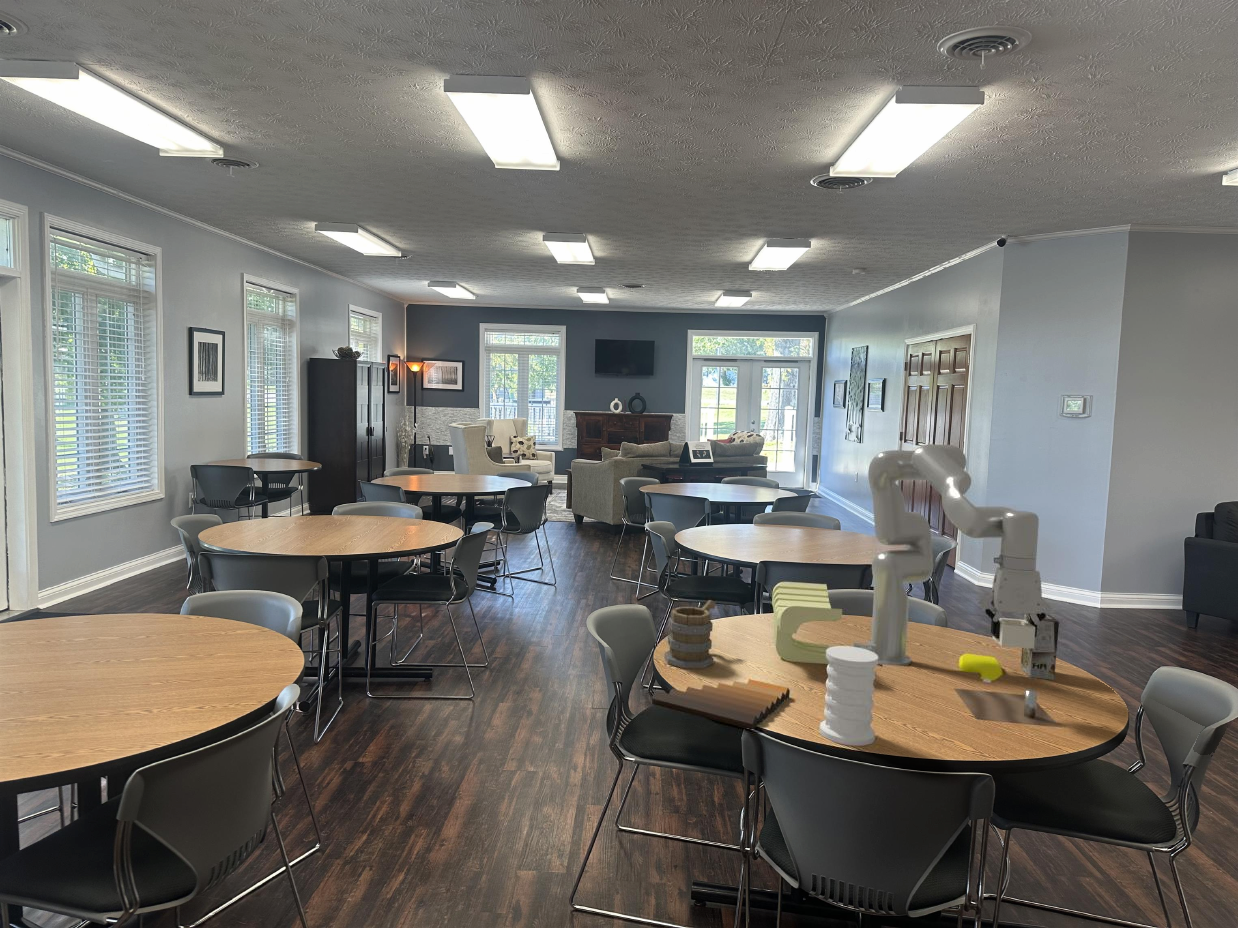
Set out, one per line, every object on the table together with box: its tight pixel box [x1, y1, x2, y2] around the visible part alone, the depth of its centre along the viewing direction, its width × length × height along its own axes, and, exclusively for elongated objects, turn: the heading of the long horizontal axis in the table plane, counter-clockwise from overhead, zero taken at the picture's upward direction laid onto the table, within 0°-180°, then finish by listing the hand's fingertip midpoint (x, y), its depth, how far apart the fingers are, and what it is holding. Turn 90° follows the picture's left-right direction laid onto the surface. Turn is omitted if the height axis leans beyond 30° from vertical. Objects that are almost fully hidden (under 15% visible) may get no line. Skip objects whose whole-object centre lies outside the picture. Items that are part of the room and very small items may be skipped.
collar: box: [992, 617, 1035, 649], centre depth 184 cm, size 7×7×5 cm
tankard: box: [664, 599, 717, 670], centre depth 218 cm, size 20×13×15 cm, turn 143°
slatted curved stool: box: [771, 581, 843, 665], centre depth 225 cm, size 30×16×18 cm, turn 173°
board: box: [953, 688, 1061, 728], centre depth 187 cm, size 18×20×2 cm
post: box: [1024, 688, 1038, 718], centre depth 181 cm, size 2×2×6 cm
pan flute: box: [651, 678, 791, 730], centre depth 187 cm, size 25×3×25 cm
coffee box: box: [1020, 614, 1060, 681], centre depth 216 cm, size 9×6×16 cm
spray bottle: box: [958, 653, 1003, 683], centre depth 212 cm, size 3×11×24 cm
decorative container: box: [819, 645, 879, 747], centre depth 170 cm, size 12×12×18 cm
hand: (1013, 637), depth 184 cm, fingers closed on collar, 7 cm apart
